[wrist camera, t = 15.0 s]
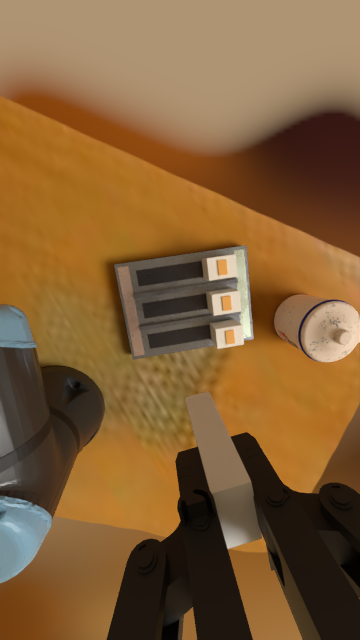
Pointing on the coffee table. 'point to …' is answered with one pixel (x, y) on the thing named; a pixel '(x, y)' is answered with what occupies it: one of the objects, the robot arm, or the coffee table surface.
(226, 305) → the breaker
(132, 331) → the panel
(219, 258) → the breaker
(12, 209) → the coffee table surface
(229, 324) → the breaker
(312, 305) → the teacup with lid
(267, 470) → the robot arm
